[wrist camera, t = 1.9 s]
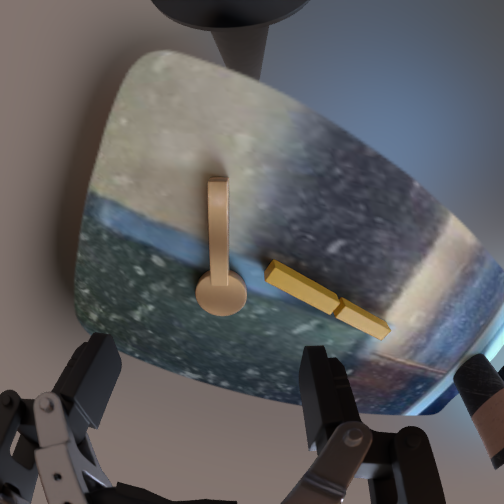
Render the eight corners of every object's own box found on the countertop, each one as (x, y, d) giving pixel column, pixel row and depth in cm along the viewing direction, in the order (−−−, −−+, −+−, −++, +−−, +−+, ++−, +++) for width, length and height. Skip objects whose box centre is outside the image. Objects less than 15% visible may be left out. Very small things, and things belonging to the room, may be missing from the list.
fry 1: (263, 271, 23) (264, 281, 22) (273, 258, 23) (275, 267, 21) (326, 305, 25) (329, 315, 24) (336, 293, 24) (340, 303, 23)
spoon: (190, 177, 20) (186, 181, 18) (249, 177, 20) (249, 181, 19) (199, 308, 25) (196, 319, 24) (246, 310, 25) (246, 321, 24)
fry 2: (331, 307, 25) (335, 317, 24) (341, 296, 25) (345, 305, 23) (376, 331, 27) (381, 340, 25) (386, 322, 26) (391, 330, 25)
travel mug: (446, 379, 32) (490, 473, 14) (479, 347, 30) (534, 437, 12) (459, 386, 34) (498, 467, 16) (488, 358, 32) (535, 436, 14)
